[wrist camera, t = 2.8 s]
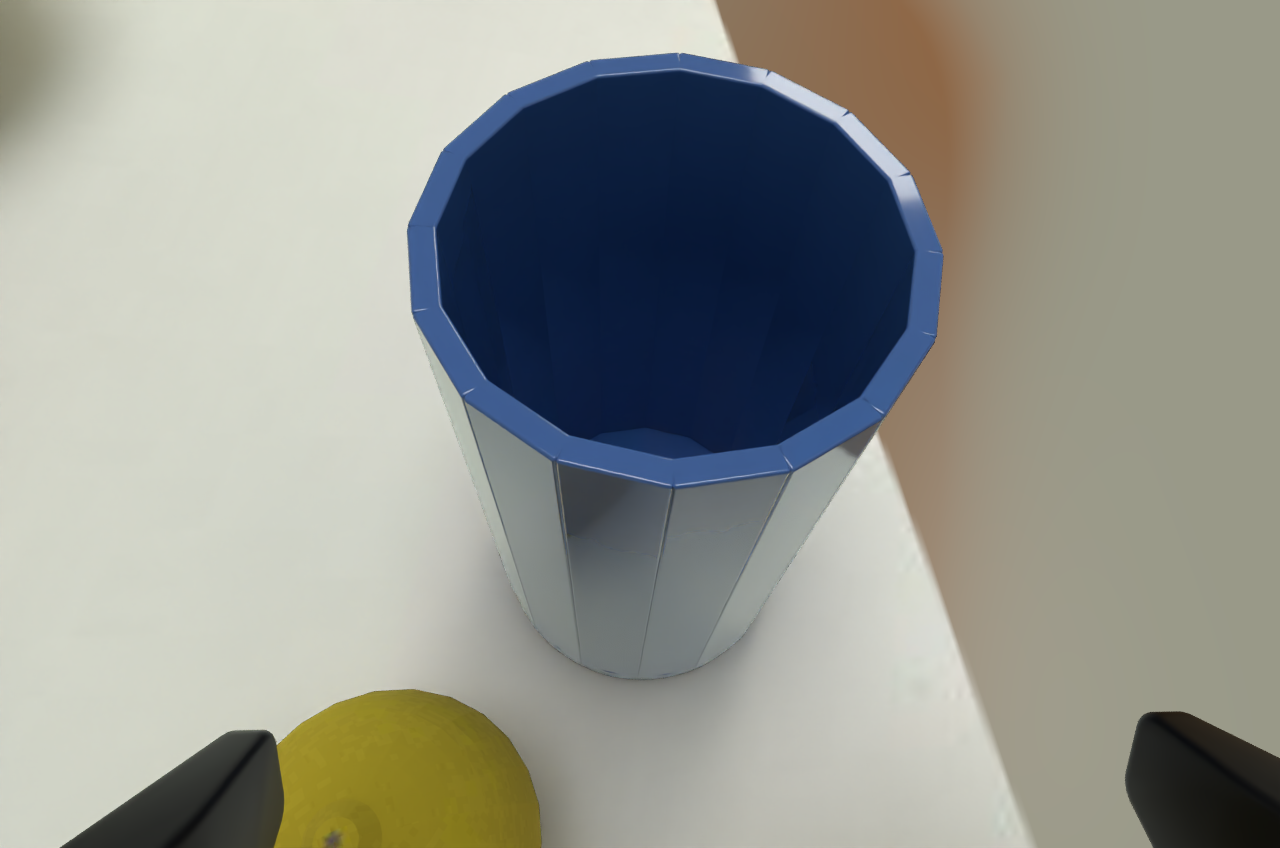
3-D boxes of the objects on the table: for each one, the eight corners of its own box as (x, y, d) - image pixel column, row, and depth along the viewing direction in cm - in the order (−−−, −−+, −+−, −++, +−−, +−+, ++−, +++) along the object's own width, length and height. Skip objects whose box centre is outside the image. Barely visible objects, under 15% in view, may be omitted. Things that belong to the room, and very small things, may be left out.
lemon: (435, 671, 21) (349, 584, 14) (600, 827, 20) (597, 816, 13) (259, 860, 19) (57, 869, 12) (429, 1048, 18) (312, 1183, 11)
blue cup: (800, 655, 22) (1021, 440, 10) (523, 701, 21) (421, 525, 10) (740, 411, 25) (858, 35, 13) (497, 444, 24) (397, 75, 13)
